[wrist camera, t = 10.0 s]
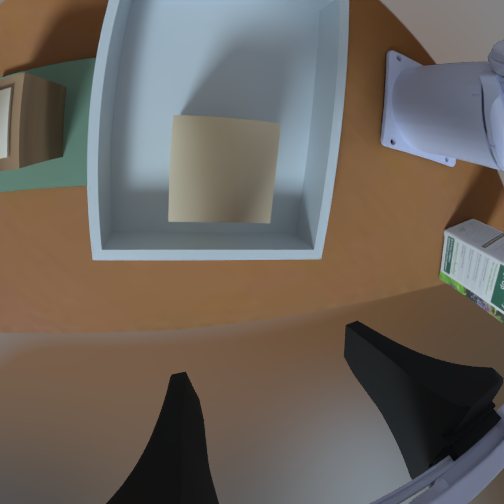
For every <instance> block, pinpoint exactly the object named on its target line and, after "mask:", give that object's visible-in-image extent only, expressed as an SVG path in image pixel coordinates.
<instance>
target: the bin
mask: <svg viewBox="0 0 504 504" xmlns="http://www.w3.org/2000/svg"><path fill="white" fill-rule="evenodd" d="M348 32H349V0H109V2H108V6H107V10H106V13H105V17H104V22H103V26H102V30H101V35H100V40H99V45H98V50H97V56H96V62H95V68H94V75H93V82H92V91H91V100H90V111H89V124H88V145H87V192H88V213H89V227H90V238H91V248H92V257H93V260H281V259H321V257H322V252H323V246H324V241H325V236H326V230H327V224H328V219H329V213H330V207H331V200H332V194H333V187H334V181H335V174H336V167H337V159H338V152H339V144H340V135H341V126H342V117H343V107H344V96H345V84H346V70H347V54H348ZM173 115H189V116H210V117H225V118H237V119H247V120H257V121H265V122H273V123H281V130H280V139H279V148H278V157H277V167H276V176H275V184H274V193H273V202H272V211H271V219H270V223H232V222H168V213H169V176H170V156H171V140H172V126H173Z"/></svg>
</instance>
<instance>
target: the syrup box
mask: <svg viewBox="0 0 504 504" xmlns="http://www.w3.org/2000/svg"><path fill="white" fill-rule="evenodd" d="M439 278H440V279H441V280H443V281H444V282H446V283H447V284H449V285H451V286H452V287H453V288H455V289H456V290H458V291H460V292H461V293H462V294H464V295H465V296H466V297H468V298H469V299H471V300H472V301H474V302H475V303H476V304H478V305H479V306H481V307H482V308H483V309H484V310H486V311H487V312H488V313H490V314H491V315H493V316H494V317H495V318H497V319H498V320H499V321H500V322H502V323H503V324H504V232H502V231H500V230H498V229H495V228H493V227H491V226H489V225H487V224H484V223H482V222H480V221H478V220H475V219H470V220H468V221H465V222H462V223H460V224H457V225H455V226H453V227H450V228H448V229H445V230H444V246H443V254H442V262H441V270H440V274H439Z"/></svg>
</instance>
